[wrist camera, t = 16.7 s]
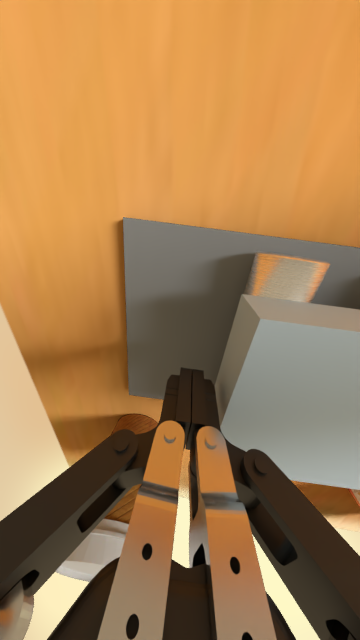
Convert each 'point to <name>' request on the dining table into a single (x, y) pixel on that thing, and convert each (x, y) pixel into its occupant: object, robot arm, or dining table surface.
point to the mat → (204, 293)
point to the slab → (294, 388)
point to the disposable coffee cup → (107, 522)
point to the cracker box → (355, 495)
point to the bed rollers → (285, 277)
